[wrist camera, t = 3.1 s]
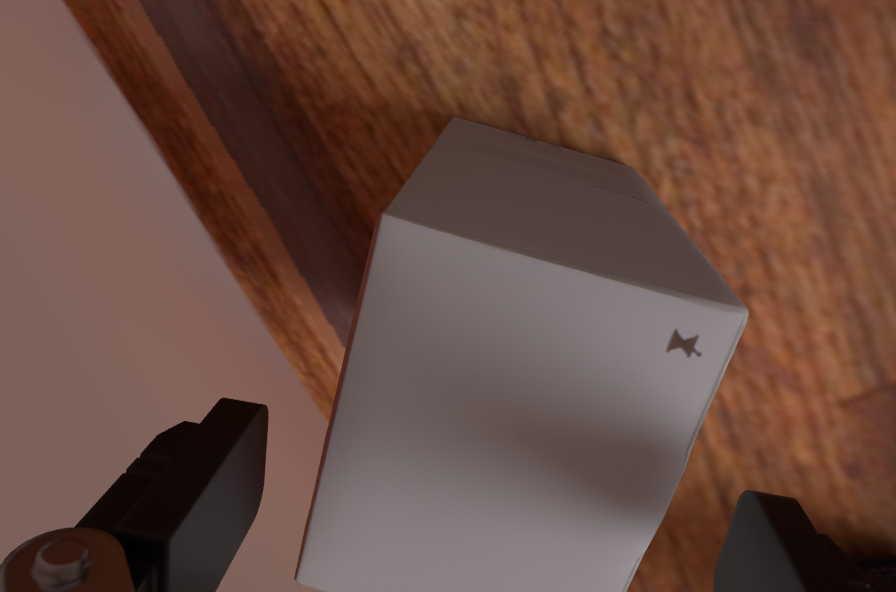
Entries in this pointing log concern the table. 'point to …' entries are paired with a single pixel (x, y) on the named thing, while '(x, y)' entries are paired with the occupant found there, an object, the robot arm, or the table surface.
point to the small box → (515, 377)
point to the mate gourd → (879, 571)
